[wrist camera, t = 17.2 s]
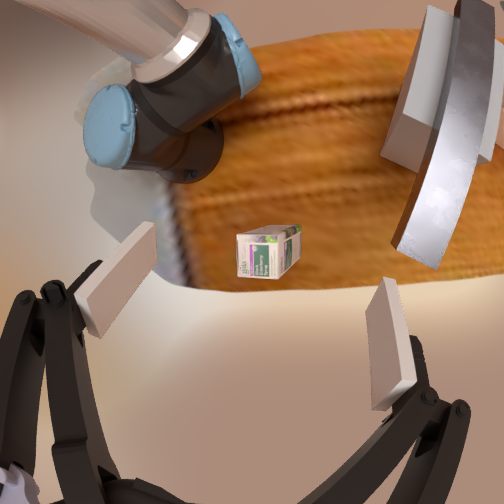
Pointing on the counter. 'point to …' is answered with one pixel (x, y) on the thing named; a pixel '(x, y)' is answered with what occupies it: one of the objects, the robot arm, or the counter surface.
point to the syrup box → (268, 251)
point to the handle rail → (451, 137)
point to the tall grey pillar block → (434, 95)
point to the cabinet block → (501, 127)
